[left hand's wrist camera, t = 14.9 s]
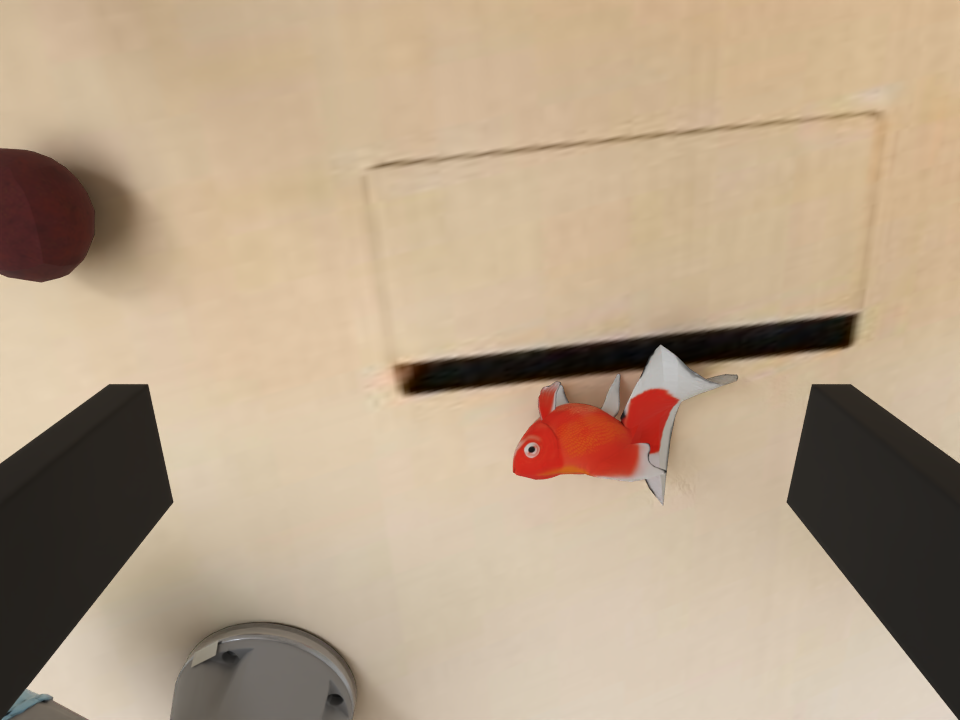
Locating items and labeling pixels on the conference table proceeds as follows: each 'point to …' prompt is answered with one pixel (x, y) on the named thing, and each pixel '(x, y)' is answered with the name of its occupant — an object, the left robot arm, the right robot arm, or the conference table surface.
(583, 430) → the fish
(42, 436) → the left robot arm
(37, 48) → the conference table surface
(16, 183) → the potato
